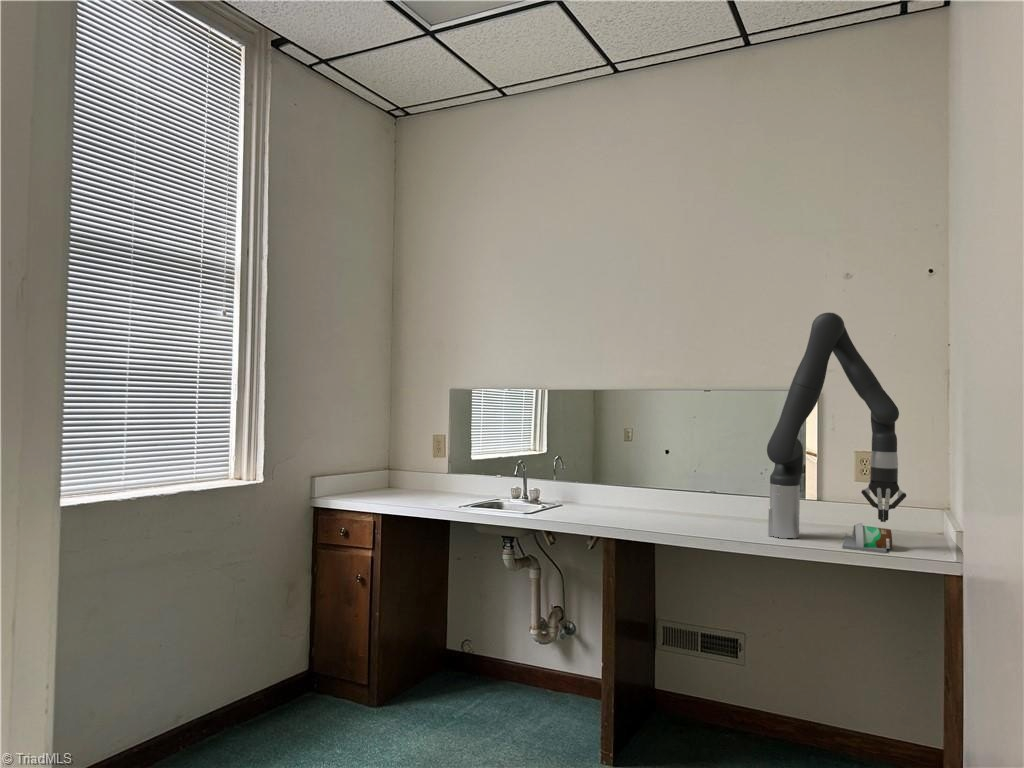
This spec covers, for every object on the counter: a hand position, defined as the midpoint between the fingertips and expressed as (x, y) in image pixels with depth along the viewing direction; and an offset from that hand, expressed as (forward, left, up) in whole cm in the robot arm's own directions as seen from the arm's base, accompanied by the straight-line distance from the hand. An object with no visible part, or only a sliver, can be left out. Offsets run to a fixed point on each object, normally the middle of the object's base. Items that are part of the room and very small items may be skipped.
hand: (883, 521), depth 220 cm
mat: (-5, 0, -8) cm, 9 cm away
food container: (+2, 0, -4) cm, 5 cm away
